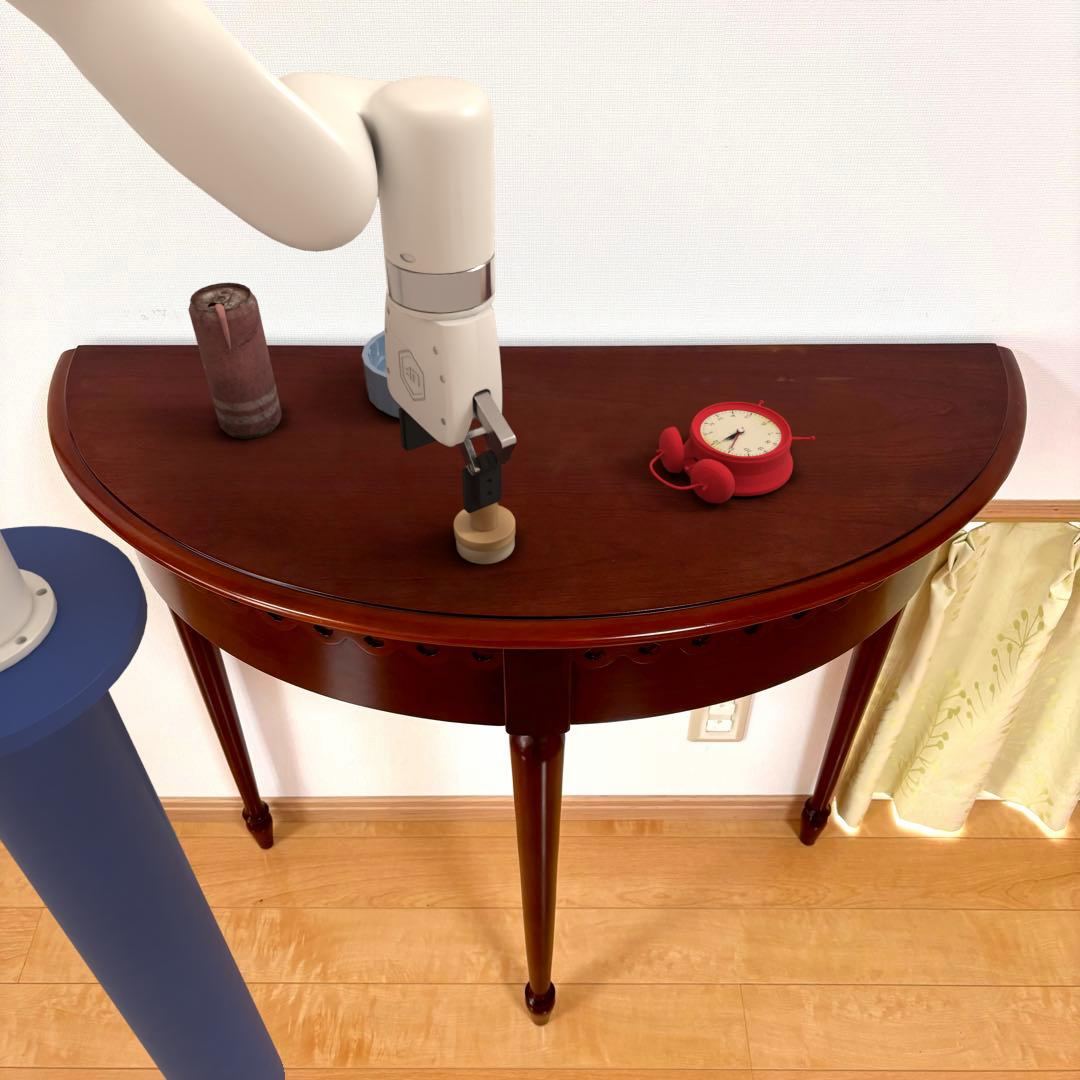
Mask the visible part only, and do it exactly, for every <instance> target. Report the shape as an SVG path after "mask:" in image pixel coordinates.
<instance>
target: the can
mask: <svg viewBox="0 0 1080 1080" xmlns="http://www.w3.org/2000/svg"><path fill="white" fill-rule="evenodd" d="M189 302H190V303H189V305H188V306H189V307H188V309H187V310H188V313H189V317H190V321H191V325H192V329H193V332H194V336H195V339H196V343H197V346H198V350H199V354H200V355H199V356H200V358H201V362H202V367H203V369H204V373H205V376H206V380H207V384H208V388H209V391H210V395H211V399H212V402H213V403H212V404H213V407H214V410H215V413H216V417H217V421H218V424H219V428H220V429H221V430H222V431H224V432H225V434H227V435H229V436H230V437H233V438H235V439H241V440H242V439H244V440H245V439H246V440H248V439H256V438H260V437H264V436H265V435H267V434H270V433H271V432H272V431H274V430H275V429H276V428H277V427H278V425H279V424H280V422H281V419H282V415H283V414H282V409H281V404H280V399H279V395H278V390H277V385H276V380H275V376H274V371H273V367H272V362H271V359H270V352H269V349H268V343H267V339H266V334H265V330H264V326H263V321H262V320H263V319H262V316H261V312H260V307H259V302H258V299H257V298H256V295H254V293H253V292H252V290H251V288H250V287H248V286H246V285H245V284H241V283H237V282H217V283H213V284H209V285H207V286H204V287H203V286H202V287H201V288H199V289H198V290H196V291H195V292H193V294H191V296H190V299H189Z"/></svg>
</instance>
